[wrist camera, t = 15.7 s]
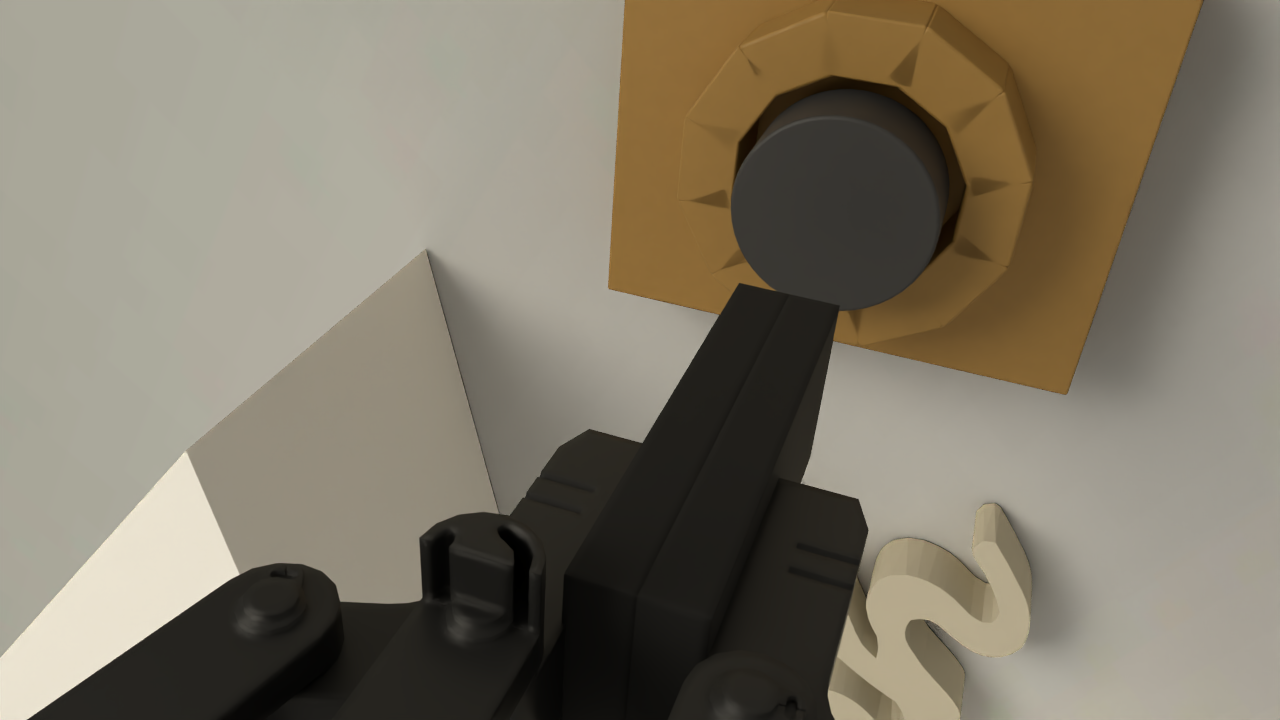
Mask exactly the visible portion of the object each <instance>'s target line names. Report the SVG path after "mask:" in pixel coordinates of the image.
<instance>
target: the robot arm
mask: <svg viewBox="0 0 1280 720" xmlns="http://www.w3.org/2000/svg"><path fill="white" fill-rule="evenodd" d="M839 308H840V305H835V304H831V303H826V302H822V301H818V300H813V299H809V298H804V297H800V296H795V295H791V294H787V293H782V292H778V291H773V290H769V289H765V288H760V287H756V286H751V285H747V284H743V283H739V284H738V285H737V287H736V289H735V290H734V292H733V294H732V295H731V297H730V299H729V300H728V302H727V304H726V305H725V307H724V309H723V310H722V312H721V314H720V315H719V317H718V319H717V320H716V322H715V324H714V325H713V327H712V329H711V330H710V332H709V334H708V335H707V337H706V339H705V340H704V342H703V344H702V345H701V347H700V349H699V350H698V352H697V354H696V355H695V357H694V359H693V360H692V362H691V364H690V365H689V367H688V369H687V370H686V372H685V373H684V375H683V377H682V378H681V380H680V382H679V383H678V385H677V387H676V388H675V390H674V392H673V393H672V395H671V397H670V398H669V400H668V402H667V403H666V405H665V407H664V408H663V410H662V412H661V413H660V415H659V417H658V418H657V420H656V422H655V423H654V425H653V427H652V428H651V430H650V432H649V433H648V435H647V437H646V438H645V440H644V442H643V443H639V442H635V441H632V440H628V439H624V438H620V437H617V436H613V435H609V434H606V433H602V432H598V431H595V430H591V429H589V430H587V431H585V432H584V433H582V434H580V435H578V436H577V437H575V438H573V439H572V440H570V441H568V442H567V443H565V444H563V445H562V446H560V447H559V448H558V449H557V450H556V452H555V453H554V455H553V456H552V457H551V459H550V460H549V462H548V463H547V464H546V466H545V467H544V469H543V470H542V471H541V475H540V477H537V478H536V480H535V481H534V483H533V484H532V485H531V487H530V488H529V490H528V491H527V493H526V497H525V498H522V499H521V501H520V502H519V504H518V505H517V507H516V508H515V509H514V511H513V512H512V514H511V515H510V516H508V515H501V514H495V513H488V512H477V513H468V514H460V515H456V516H454V517H451V518H449V519H446V520H444V521H441V522H439V523H436V524H435V525H434V526H432V527H431V528H430V529H429V530H428V531H427V532H425V533H424V534H423V535H422V536H421V537H419V544H420V562H421V580H422V599H421V600H420V601H415V602H411V603H395V604H383V603H360V602H340V599H339V595H338V591H337V587H336V584H335V583H334V582H333V581H332V580H331V579H330V578H329V577H328V576H326V575H325V574H324V573H323V572H322V571H320V570H317V569H314V568H312V567H309V566H306V565H303V564H292V563H275V564H270V565H266V566H261V567H256V568H252V569H250V570H248V571H246V572H244V573H242V574H240V575H238V576H236V577H234V578H232V579H230V580H229V581H227V582H226V583H224V584H223V585H221V586H220V587H218V588H217V589H215V590H214V591H213V592H211V593H210V594H208V595H207V596H205V597H204V598H202V599H201V600H200V601H198V602H197V603H195V604H194V605H192V606H191V607H189V608H188V609H187V610H185V611H184V612H182V613H181V614H179V615H178V616H176V617H175V618H173V619H172V620H171V621H169V622H168V623H166V624H165V625H163V626H162V627H160V628H159V629H158V630H156V631H155V632H153V633H152V634H150V635H149V636H147V637H146V638H144V639H143V640H142V641H140V642H139V643H137V644H136V645H134V646H133V647H131V648H130V649H129V650H127V651H126V652H124V653H123V654H121V655H120V656H118V657H117V658H116V659H114V660H113V661H111V662H110V663H108V664H107V665H105V666H104V667H102V668H101V669H100V670H98V671H97V672H95V673H94V674H92V675H91V676H89V677H88V678H87V679H85V680H84V681H82V682H81V683H79V684H78V685H76V686H75V687H74V688H72V689H71V690H69V691H68V692H66V693H65V694H63V695H62V696H60V697H59V698H58V699H56V700H55V701H53V702H52V703H50V704H49V705H47V706H46V707H45V708H43V709H42V710H40V711H39V712H37V713H36V714H34V715H33V716H31V717H30V718H29V719H27V720H835V719H834V717H833V715H832V713H831V709H830V704H829V699H828V689H829V685H830V681H831V677H832V674H833V670H834V666H835V662H836V658H837V655H838V651H839V647H840V643H841V639H842V635H843V632H844V628H845V624H846V620H847V616H848V612H849V608H850V604H851V600H852V596H853V592H854V587H855V583H856V579H857V575H858V571H859V567H860V563H861V559H862V555H863V551H864V547H865V543H866V538H867V534H868V527H867V524H866V521H865V518H864V515H863V512H862V509H861V506H860V502H859V499H856V498H852V497H848V496H845V495H841V494H837V493H833V492H830V491H826V490H822V489H819V488H815V487H811V486H808V485H804V484H800V483H801V481H802V478H803V475H804V472H805V470H806V467H807V464H808V461H809V459H810V456H811V450H812V445H813V440H814V435H815V430H816V425H817V420H818V415H819V410H820V405H821V400H822V394H823V389H824V384H825V379H826V374H827V369H828V364H829V359H830V354H831V349H832V343H833V338H834V333H835V328H836V323H837V318H838V313H839Z"/></svg>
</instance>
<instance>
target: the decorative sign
mask: <svg viewBox="0 0 1280 720" xmlns="http://www.w3.org/2000/svg"><path fill="white" fill-rule="evenodd" d="M972 552H973V556H974V558H975V560H976V561H977V563H978V564H979V566H980V567H981V569H982V571H983V572H984V574H985V576H986V577H987V579H988V581H989V583H985V582H983V581H981V580H980V579H978V578H976V577H975V576H974V575H973V574H972V573H971V572H970V571H969V570H968V569H967V568H966V567H965V566H964V565H963V564H962V563H961V562H960V561H959V560H958V559H957V558H956V557H954V556H953V555H952V554H950V553H949V552H947V551H946V550H944V549H943V548H941V547H939V546H937V545H934V544H932V543H929V542H927V541H924V540H919V539H913V538H903V539H897V540H893V541H891V542H890V543H888V544H887V545H885V546H884V547H883V548H882V549H881V551H880V552H879V554H878V556H877V559H876V561H875V566H874V570H873V574H872V579H871V583H870V587H869V591H868V596H867V599H866V597H865V595H864V592H863V590H862V588H861V585H860V583H859V580H858V578H857V579H856V583H855V587H854V592H853V596H852V600H851V604H850V608H849V612H848V616H847V620H846V624H845V628H844V632H843V635H842V639H841V643H840V647H839V651H838V655H837V658H836V662H835V666H834V670H833V674H832V677H831V681H830V685H829V689H828V699H829V704H830V709H831V713H832V715H833V717H834V719H835V720H959V719H960V715H961V706H962V698H963V689H964V681H965V672H964V670H963V668H962V666H961V665H960V663H959V662H958V661H957V659H956V658H955V657H954V655H953V654H952V653H951V652H950V651H949V650H948V649H947V647H946V646H945V645H944V644H943V643H942V642H941V641H940V640H939V638H938V637H937V636H936V635H935V634H934V633H933V632H932V631H931V629H930V628H929V627H928V625H927V624H926V622H925V621H924V620H930V621H932V622H934V623H936V624H937V625H938V626H940V627H941V628H942V629H943V630H944V631H946V632H947V633H948V634H949V635H950V636H951V637H953V638H954V639H955V640H956V641H958V642H959V643H960V644H961V645H963V646H964V647H966V648H967V649H969V650H971V651H972V652H975V653H977V654H979V655H982V656H987V657H1003V656H1007V655H1010V654H1013V653H1014V652H1016V651H1018V650H1019V649H1021V648H1022V646H1023V645H1024V643H1025V642H1026V639H1027V636H1028V633H1029V629H1030V615H1031V596H1032V577H1031V569H1030V566H1029V562H1028V559H1027V557H1026V554H1025V552H1024V550H1023V548H1022V546H1021V544H1020V542H1019V540H1018V538H1017V536H1016V534H1015V532H1014V530H1013V528H1012V527H1011V525H1010V523H1009V521H1008V519H1007V518H1006V516H1005V514H1004V512H1003V511H1002V509H1001V507H1000V506H998V505H997V504H995V503H992V504H984V505H983V506H982V507H981V508H980V509H979V510H977V511H976V519H975V527H974V535H973V543H972Z"/></svg>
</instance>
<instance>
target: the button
mask: <svg viewBox="0 0 1280 720" xmlns="http://www.w3.org/2000/svg"><path fill="white" fill-rule="evenodd" d="M948 198H949V174H948V167H947V164H946V160H945V156H944V154H943V151H942V149H941V147H940V144H939V143H938V141H937V139H936V138H935V136H934V134H933V133H932V132H931V130H930V129H929V128H928V127H927V125H926V124H925V123H924V122H923V121H922V120H921V119H920V118H919V117H918V116H917V115H916V114H915V113H914V112H912V111H911V110H909V109H908V108H907V107H905V106H904V105H902V104H900V103H898V102H897V101H895V100H893V99H891V98H888V97H886V96H883V95H881V94H878V93H874V92H869V91H865V90H856V89H836V90H830V91H824V92H820V93H817V94H813V95H810V96H808V97H806V98H804V99H801V100H799V101H798V102H796V103H794V104H793V105H791V106H789V107H788V108H787V109H786V110H784V111H783V112H782V113H781V114H779V115H778V116H777V117H776V118H775V120H774V121H773V122H772V123H771V124H770V125H769V127H768V128H767V129H766V131H765V132H764V133H763V135H762V136H761V138H760V139H759V140H758V142H757V143H756V144H755V146H754V147H753V149H752V150H751V151H750V153H749V154H748V156H747V157H746V158H745V160H744V161H743V163H742V165H741V167H740V169H739V171H738V173H737V176H736V179H735V182H734V185H733V190H732V195H731V221H732V226H733V230H734V234H735V237H736V240H737V243H738V246H739V248H740V250H741V252H742V254H743V256H744V258H745V259H746V260H747V262H748V263H749V265H750V266H751V268H752V269H753V270H754V271H755V272H756V274H757V275H758V276H759V277H760V278H761V279H762V280H763V281H764V282H765V283H766V284H768V285H769V286H770V287H771V288H773V289H774V290H776V291H778V292H782V293H787V294H791V295H795V296H800V297H804V298H809V299H813V300H818V301H822V302H826V303H831V304H835V305H840V308H839V311H851V310H858V309H864V308H868V307H871V306H874V305H878V304H881V303H883V302H885V301H887V300H889V299H891V298H893V297H895V296H896V295H898V294H900V293H901V292H903V291H904V290H905V289H906V288H908V287H909V286H910V285H911V284H912V283H913V282H914V281H915V280H916V279H917V278H918V277H919V276H920V275H921V274H922V272H923V271H924V269H925V268H926V266H927V265H928V263H929V262H930V260H931V258H932V256H933V254H934V252H935V249H936V245H937V242H938V239H939V236H940V232H941V228H942V224H943V220H944V216H945V212H946V208H947V204H948Z"/></svg>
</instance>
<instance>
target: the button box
mask: <svg viewBox="0 0 1280 720" xmlns="http://www.w3.org/2000/svg"><path fill="white" fill-rule="evenodd" d="M1203 1H1204V0H625V9H624V26H623V43H622V60H621V77H620V94H619V111H618V128H617V145H616V162H615V179H614V196H613V213H612V230H611V247H610V264H609V281H608V288H609V289H611V290H615V291H620V292H624V293H628V294H633V295H637V296H641V297H645V298H650V299H654V300H658V301H663V302H667V303H671V304H676V305H680V306H684V307H689V308H693V309H697V310H702V311H706V312H710V313H715V314H719V315H720V314H721V312H722V310H723V309H724V307H725V305H726V304H727V302H728V300H729V299H730V297H731V295H732V294H733V292H734V290H735V289H736V287H737V285H738V284H739V283H743V284H747V285H751V286H756V287H760V288H765V289H769V290H773V291H776V290H774V289H773V288H771V287H770V286H769V285H768V284H766V283H765V282H764V281H763V280H762V279H761V278H760V277H759V276H758V275H757V274H756V272H755V271H754V270H753V269H752V268H751V266H750V265H749V263H748V262H747V260H746V259H745V258H744V256H743V254H742V252H741V250H740V248H739V246H738V243H737V240H736V237H735V234H734V230H733V226H732V221H731V195H732V190H733V185H734V182H735V179H736V176H737V173H738V171H739V169H740V167H741V165H742V163H743V161H744V160H745V158H746V157H747V156H748V154H749V153H750V151H751V150H752V149H753V147H754V146H755V144H756V143H757V142H758V140H759V139H760V138H761V136H762V135H763V133H764V132H765V131H766V129H767V128H768V127H769V125H770V124H771V123H772V122H773V121H774V120H775V118H776V117H777V116H778V115H779V114H781V113H782V112H783V111H784V110H786V109H787V108H788V107H789V106H791V105H793V104H794V103H796V102H798V101H799V100H801V99H804V98H806V97H808V96H810V95H813V94H817V93H820V92H824V91H830V90H836V89H856V90H865V91H869V92H874V93H878V94H881V95H883V96H886V97H888V98H891V99H893V100H895V101H897V102H898V103H900V104H902V105H904V106H905V107H907V108H908V109H909V110H911V111H912V112H914V113H915V114H916V115H917V116H918V117H919V118H920V119H921V120H922V121H923V122H924V123H925V124H926V125H927V127H928V128H929V129H930V130H931V132H932V133H933V134H934V136H935V138H936V139H937V141H938V143H939V144H940V147H941V149H942V151H943V154H944V156H945V160H946V164H947V167H948V174H949V198H948V204H947V208H946V212H945V216H944V220H943V224H942V228H941V232H940V236H939V239H938V242H937V245H936V249H935V252H934V254H933V256H932V258H931V260H930V262H929V263H928V265H927V266H926V268H925V269H924V271H923V272H922V274H921V275H920V276H919V277H918V278H917V279H916V280H915V281H914V282H913V283H912V284H911V285H910V286H909V287H908V288H906V289H905V290H904V291H903V292H901V293H900V294H898V295H896V296H895V297H893V298H891V299H889V300H887V301H885V302H883V303H881V304H878V305H874V306H871V307H868V308H864V309H858V310H851V311H839V313H838V318H837V323H836V328H835V333H834V338H833V341H835V342H839V343H844V344H848V345H852V346H857V347H861V348H866V349H870V350H874V351H879V352H883V353H887V354H891V355H896V356H900V357H904V358H909V359H913V360H917V361H922V362H926V363H930V364H935V365H939V366H943V367H948V368H952V369H956V370H960V371H965V372H969V373H973V374H978V375H982V376H986V377H991V378H995V379H999V380H1004V381H1008V382H1012V383H1017V384H1021V385H1025V386H1030V387H1034V388H1038V389H1042V390H1047V391H1051V392H1055V393H1060V394H1064V395H1066V394H1067V393H1068V390H1069V388H1070V385H1071V382H1072V379H1073V376H1074V373H1075V370H1076V367H1077V365H1078V362H1079V359H1080V356H1081V353H1082V350H1083V347H1084V344H1085V341H1086V339H1087V336H1088V333H1089V330H1090V327H1091V324H1092V321H1093V318H1094V315H1095V313H1096V310H1097V307H1098V304H1099V301H1100V298H1101V295H1102V292H1103V289H1104V287H1105V284H1106V281H1107V278H1108V275H1109V272H1110V269H1111V266H1112V263H1113V261H1114V258H1115V255H1116V252H1117V249H1118V246H1119V243H1120V240H1121V237H1122V235H1123V232H1124V229H1125V226H1126V223H1127V220H1128V217H1129V214H1130V211H1131V209H1132V206H1133V203H1134V200H1135V197H1136V194H1137V191H1138V188H1139V185H1140V183H1141V180H1142V177H1143V174H1144V171H1145V168H1146V165H1147V162H1148V159H1149V157H1150V154H1151V151H1152V148H1153V145H1154V142H1155V139H1156V136H1157V133H1158V131H1159V128H1160V125H1161V122H1162V119H1163V116H1164V113H1165V110H1166V108H1167V105H1168V102H1169V99H1170V96H1171V93H1172V90H1173V87H1174V84H1175V82H1176V79H1177V76H1178V73H1179V70H1180V67H1181V64H1182V61H1183V58H1184V56H1185V53H1186V50H1187V47H1188V44H1189V41H1190V38H1191V35H1192V32H1193V30H1194V27H1195V24H1196V21H1197V18H1198V15H1199V12H1200V9H1201V6H1202V4H1203Z"/></svg>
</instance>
